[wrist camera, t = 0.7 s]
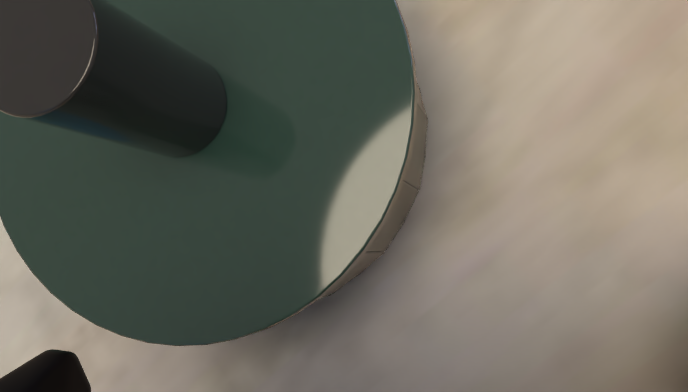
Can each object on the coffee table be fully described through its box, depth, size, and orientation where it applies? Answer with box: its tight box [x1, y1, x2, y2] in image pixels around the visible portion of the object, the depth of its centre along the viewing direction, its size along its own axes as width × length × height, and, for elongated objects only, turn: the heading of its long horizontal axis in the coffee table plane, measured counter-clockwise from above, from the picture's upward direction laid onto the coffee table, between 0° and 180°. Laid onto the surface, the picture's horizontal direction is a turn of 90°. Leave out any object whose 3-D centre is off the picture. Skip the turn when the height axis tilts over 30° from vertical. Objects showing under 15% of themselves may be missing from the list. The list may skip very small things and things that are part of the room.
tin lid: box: [0, 0, 418, 346], centre depth 16 cm, size 14×14×7 cm
